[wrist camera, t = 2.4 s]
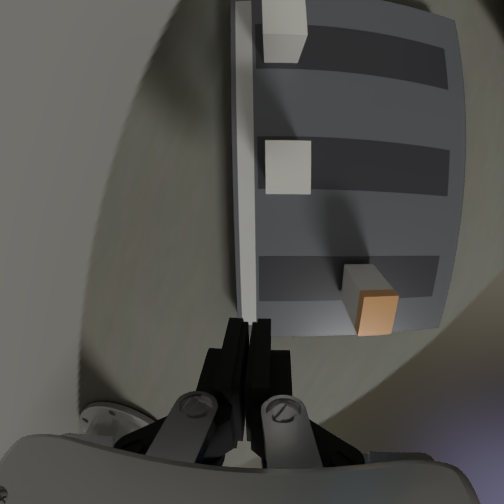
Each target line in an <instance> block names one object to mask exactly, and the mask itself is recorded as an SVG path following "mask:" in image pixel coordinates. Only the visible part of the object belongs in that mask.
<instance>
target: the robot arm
mask: <svg viewBox="0 0 504 504" xmlns="http://www.w3.org/2000/svg"><path fill="white" fill-rule="evenodd" d="M245 417H246V431H247V441H251V450H252V451H254V452H255V453H256V454H257V455H258V456H260V457H261V465H262V469H259V468H258V469H257V468H238V467H225V466H222V465H223V463H224V460H225V453H227V452H229V451H230V450H232V449H233V448H237V441H243V435H244V426H245ZM80 424H81V427H82V429H83V431H84V433H85V434H84V435H83V434H72V433H68V434H67V433H66V434H63V435H53V434H34V435H28V436H25V437H22V438H20V439H19V440H18V441H16V442H15V443H14V444H13V445H12V446H11V447H10V449H9V450H8V451H7V452H6V453H5V455H4V456H3V458H2V459H1V460H0V504H480V501H479V499H478V497H477V494H476V492H475V490H474V488H473V486H472V484H471V482H470V481H469V479H468V478H467V476H466V475H465V474H464V473H463V472H462V471H461V470H460V469H459V468H458V467H456V466H454V465H452V464H448V463H444V462H440V461H435V460H434V459H433V458H432V457H431V456H430V455H428V454H426V453H420V452H411V453H410V452H376V451H370V453H369V454H365V453H361V452H360V451H359V450H357V449H356V448H354V447H353V446H351V445H349V444H348V443H346V442H344V441H343V440H341V439H340V438H338V437H336V436H335V435H333V434H332V433H330V432H328V431H327V430H325V429H323V428H322V427H320V426H319V425H317V424H316V423H314V422H313V421H311V420H310V419H309V417H308V414H307V411H306V407H305V406H304V404H303V402H302V401H300V400H299V399H298V398H296V397H294V396H292V379H291V360H290V350H271V319H262V318H258V321H257V322H252V329H251V337H250V346H249V323H248V322H244V320H243V318H229V322H228V326H227V330H226V334H225V338H224V342H223V346H222V349H216V348H209V349H208V352H207V355H206V359H205V362H204V365H203V369H202V372H201V375H200V379H199V382H198V386H197V389H196V391H193V392H188V393H186V394H183V395H182V396H180V397H179V398H178V399H177V401H176V402H175V404H174V406H173V407H172V409H171V411H170V413H169V414H168V416H166V417H164V418H162V419H160V420H158V421H154V420H152V419H151V418H149V417H147V416H146V415H144V414H142V413H140V412H138V411H136V410H134V409H131V408H129V407H126V406H123V405H120V404H115V403H111V402H94V403H91V404H89V405H87V406H86V407H85V408H84V410H83V411H82V413H81V415H80Z"/></svg>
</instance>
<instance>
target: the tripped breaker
mask: <svg viewBox="0 0 504 504" xmlns="http://www.w3.org/2000/svg"><path fill="white" fill-rule="evenodd" d="M398 298H399V295H398V294H397V293H396V291H395V290H394V289H393V288H392V286H391V285H390V284H389V283H388V282H387V280H386V279H385V278H384V277H383V275H382V274H381V273H380V272H379V271H378V269H377V268H376V267H375V266H374V265H373V264H344V272H343V282H342V292H341V299H342V301H343V304H344V306H345V308H346V310H347V313H348V315H349V317H350V319H351V322H352V324H353V326H354V329H355V331H356V333H357V336H371V335H385V334H391V332H392V327H393V323H394V318H395V313H396V308H397V303H398Z"/></svg>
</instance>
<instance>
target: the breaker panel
mask: <svg viewBox="0 0 504 504" xmlns="http://www.w3.org/2000/svg"><path fill="white" fill-rule="evenodd" d="M231 115H232V164H233V202H234V235H235V263H236V290H237V314H238V318H243V320H244V322H248V323H249V336H251V329H252V322H257V321H258V318H262V319H271V337H283V336H330V335H353V334H357V333H356V331H355V329H354V326H353V324H352V322H351V319H350V317H349V315H348V313H347V310H346V308H345V306H344V304H343V301H342V299H341V292H342V282H343V272H344V264H373V265H374V266H375V267H376V268H377V269H378V271H379V272H380V273H381V274H382V275H383V277H384V278H385V279H386V280H387V282H388V283H389V284H390V285H391V286H392V288H393V289H394V290H395V291H396V293H397V294H398V295H399V298H398V303H397V308H396V313H395V318H394V323H393V327H392V332H397V331H409V330H419V329H429V328H438V327H439V325H440V321H441V318H442V314H443V310H444V306H445V302H446V298H447V294H448V290H449V285H450V281H451V276H452V271H453V266H454V261H455V255H456V249H457V243H458V237H459V230H460V222H461V214H462V205H463V195H464V182H465V163H466V111H465V93H464V81H463V71H462V62H461V55H460V48H459V41H458V35H457V30H456V24H455V20H452V19H449V18H446V17H443V16H440V15H437V14H434V13H430V12H427V11H424V10H420V9H417V8H413V7H409V6H405V5H401V4H397V3H393V2H388V1H383V0H231Z"/></svg>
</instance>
